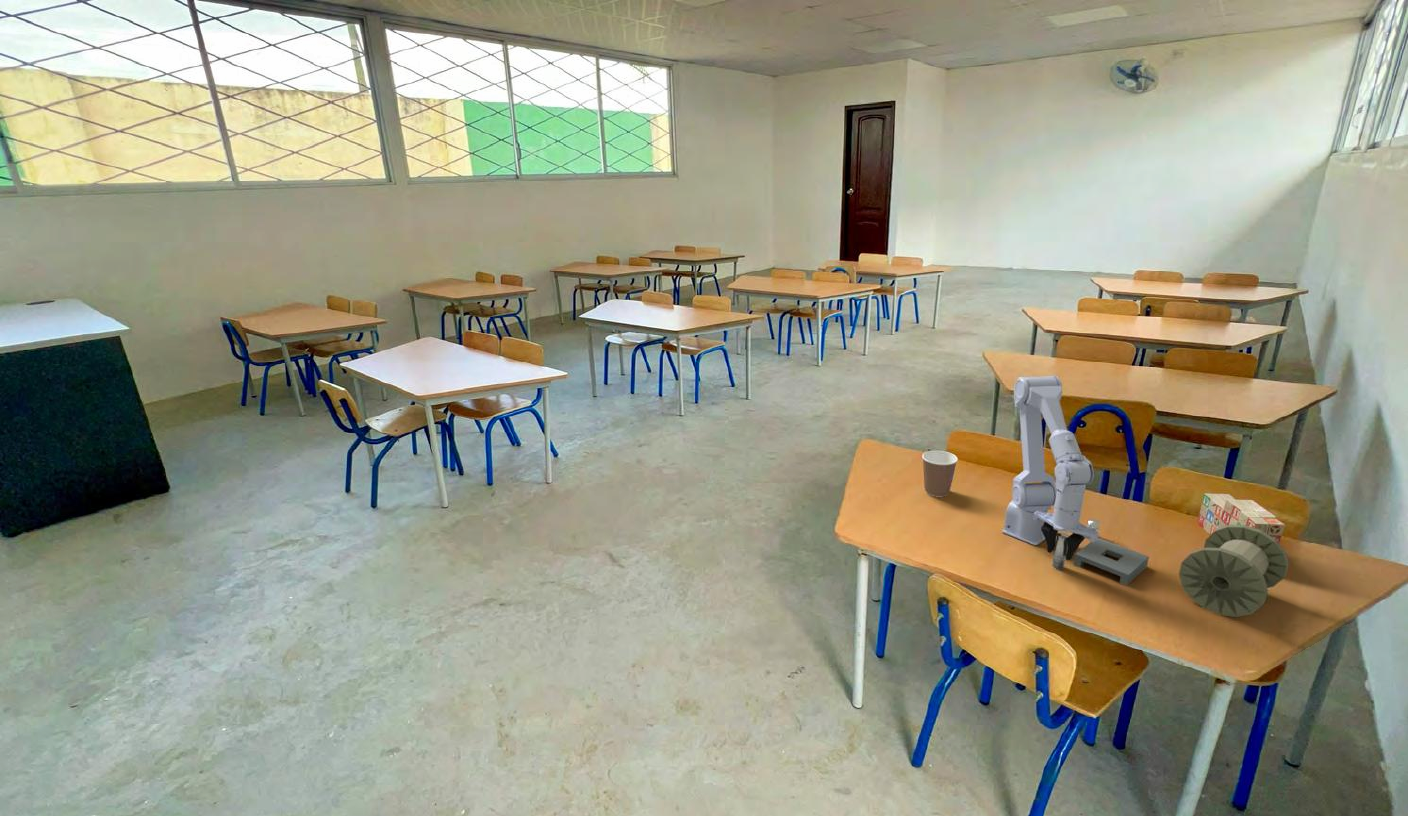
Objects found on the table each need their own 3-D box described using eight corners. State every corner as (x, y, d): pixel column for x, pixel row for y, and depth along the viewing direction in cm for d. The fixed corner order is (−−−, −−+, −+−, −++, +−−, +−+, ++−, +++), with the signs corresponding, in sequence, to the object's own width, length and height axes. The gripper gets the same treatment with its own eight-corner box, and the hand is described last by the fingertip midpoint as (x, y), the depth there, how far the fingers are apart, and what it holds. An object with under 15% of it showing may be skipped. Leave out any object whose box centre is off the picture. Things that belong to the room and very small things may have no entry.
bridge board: (1073, 564, 161) (1075, 553, 160) (1094, 547, 168) (1096, 537, 167) (1126, 585, 152) (1128, 575, 151) (1146, 566, 159) (1149, 556, 158)
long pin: (1050, 566, 161) (1055, 535, 158) (1055, 562, 162) (1060, 531, 159) (1060, 571, 159) (1066, 539, 156) (1065, 567, 160) (1071, 535, 157)
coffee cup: (959, 499, 195) (963, 463, 191) (925, 500, 195) (928, 464, 191) (947, 484, 205) (950, 449, 201) (915, 485, 205) (917, 451, 201)
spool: (1200, 569, 157) (1213, 515, 152) (1278, 598, 146) (1296, 541, 141) (1173, 596, 148) (1187, 539, 143) (1254, 629, 136) (1273, 568, 131)
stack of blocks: (1196, 523, 177) (1206, 482, 173) (1221, 524, 176) (1232, 483, 172) (1243, 566, 157) (1255, 522, 153) (1272, 568, 156) (1285, 524, 152)
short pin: (1084, 535, 173) (1086, 521, 172) (1088, 532, 175) (1091, 518, 173) (1094, 539, 171) (1097, 525, 170) (1098, 536, 173) (1101, 521, 171)
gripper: (1029, 501, 158) (1022, 548, 162) (1092, 523, 147) (1083, 573, 151) (1043, 492, 162) (1036, 539, 166) (1106, 513, 151) (1096, 562, 155)
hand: (1059, 555), depth 159 cm, fingers open, 4 cm apart
